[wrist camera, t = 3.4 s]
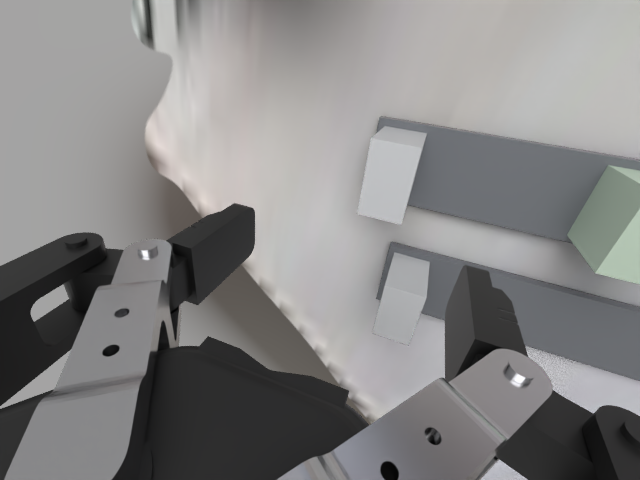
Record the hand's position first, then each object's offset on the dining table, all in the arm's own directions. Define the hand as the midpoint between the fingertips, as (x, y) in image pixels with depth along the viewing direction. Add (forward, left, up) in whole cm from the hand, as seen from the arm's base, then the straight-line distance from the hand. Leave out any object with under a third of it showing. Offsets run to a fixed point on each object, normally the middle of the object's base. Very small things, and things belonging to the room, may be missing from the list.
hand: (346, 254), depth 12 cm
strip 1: (-11, 0, -15) cm, 19 cm away
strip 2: (-14, +10, -15) cm, 23 cm away
